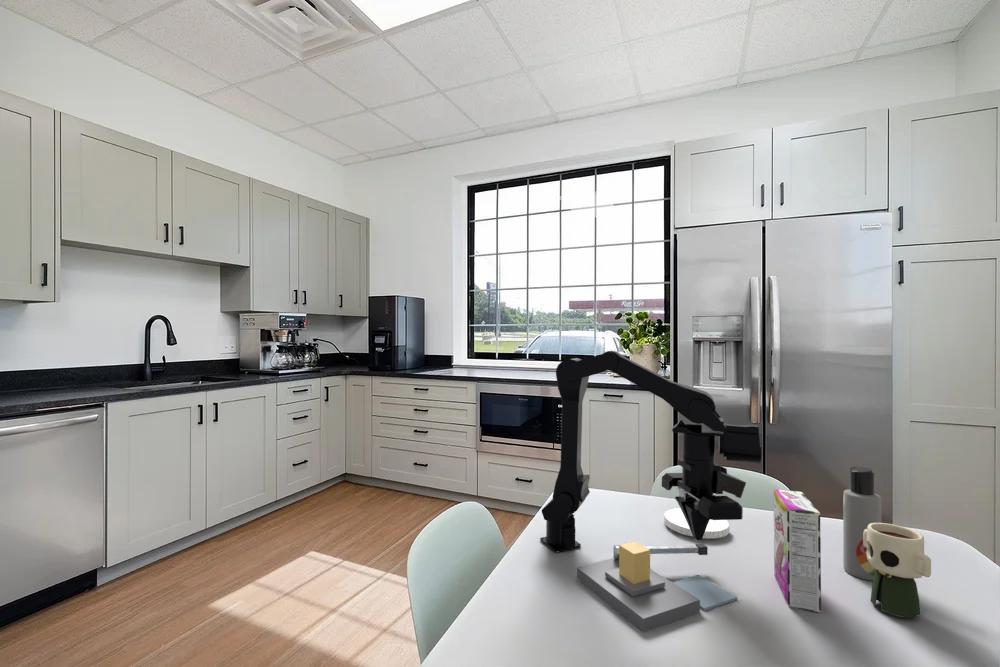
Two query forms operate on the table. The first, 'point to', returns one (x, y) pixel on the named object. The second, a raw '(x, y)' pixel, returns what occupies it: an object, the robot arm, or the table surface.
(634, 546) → the plug
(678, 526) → the plastic lid
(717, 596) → the mat
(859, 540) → the lotion bottle
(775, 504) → the candy bar box
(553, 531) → the robot arm
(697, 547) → the metal lever bar
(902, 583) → the character mug
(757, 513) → the table surface
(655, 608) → the socket plate
